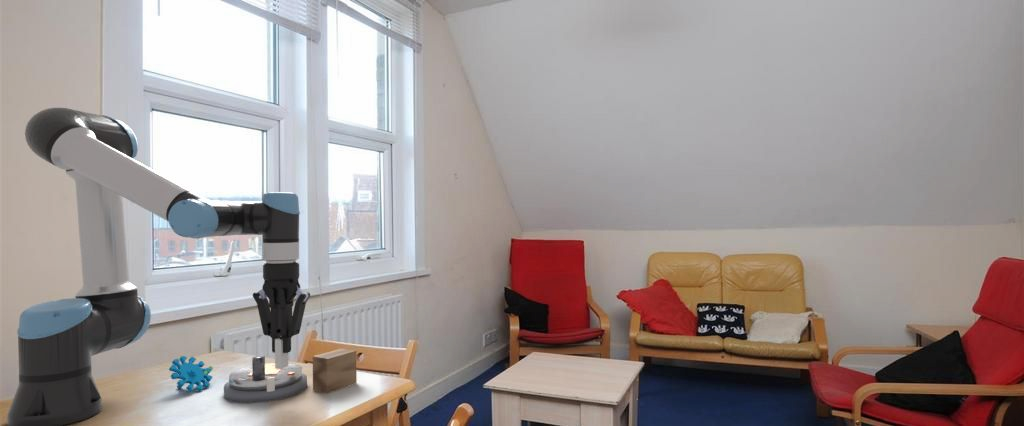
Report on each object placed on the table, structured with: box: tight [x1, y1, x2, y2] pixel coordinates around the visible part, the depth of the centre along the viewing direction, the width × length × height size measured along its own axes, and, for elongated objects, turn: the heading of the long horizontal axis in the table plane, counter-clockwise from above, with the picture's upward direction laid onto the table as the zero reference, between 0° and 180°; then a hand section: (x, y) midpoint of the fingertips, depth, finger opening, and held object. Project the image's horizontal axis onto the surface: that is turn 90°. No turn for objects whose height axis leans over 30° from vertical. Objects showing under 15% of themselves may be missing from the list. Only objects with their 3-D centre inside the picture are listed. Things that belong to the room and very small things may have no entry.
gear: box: [168, 355, 214, 392], centre depth 135 cm, size 11×6×10 cm
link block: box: [312, 347, 358, 394], centre depth 136 cm, size 5×9×8 cm, turn 149°
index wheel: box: [228, 355, 303, 391], centre depth 133 cm, size 16×16×7 cm
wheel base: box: [223, 372, 308, 404], centre depth 133 cm, size 18×18×5 cm
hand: (281, 367), depth 126 cm, fingers closed
